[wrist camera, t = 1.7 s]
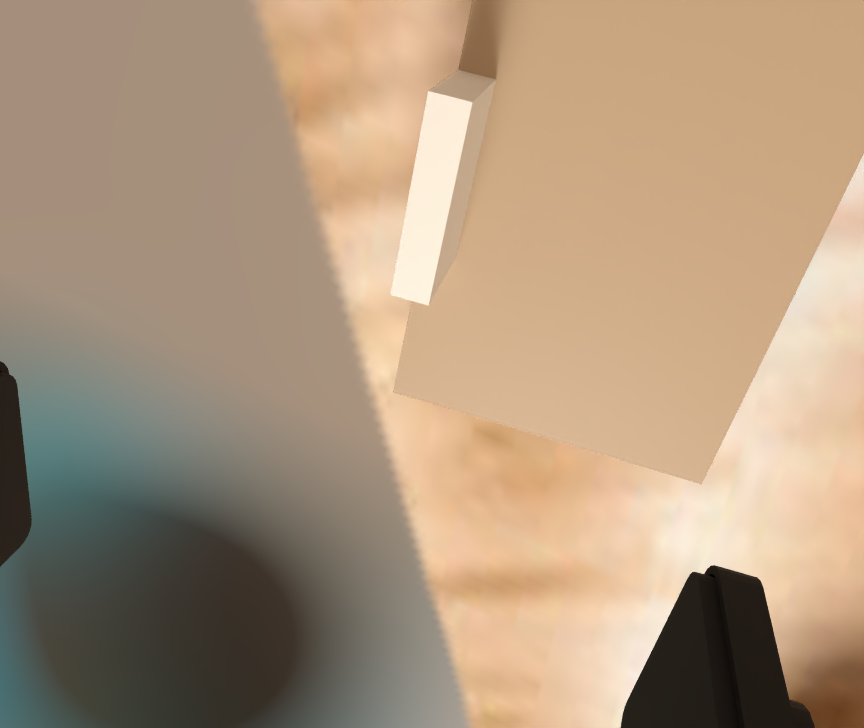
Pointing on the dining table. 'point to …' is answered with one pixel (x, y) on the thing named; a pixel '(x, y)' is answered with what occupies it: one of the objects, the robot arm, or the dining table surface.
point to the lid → (623, 213)
